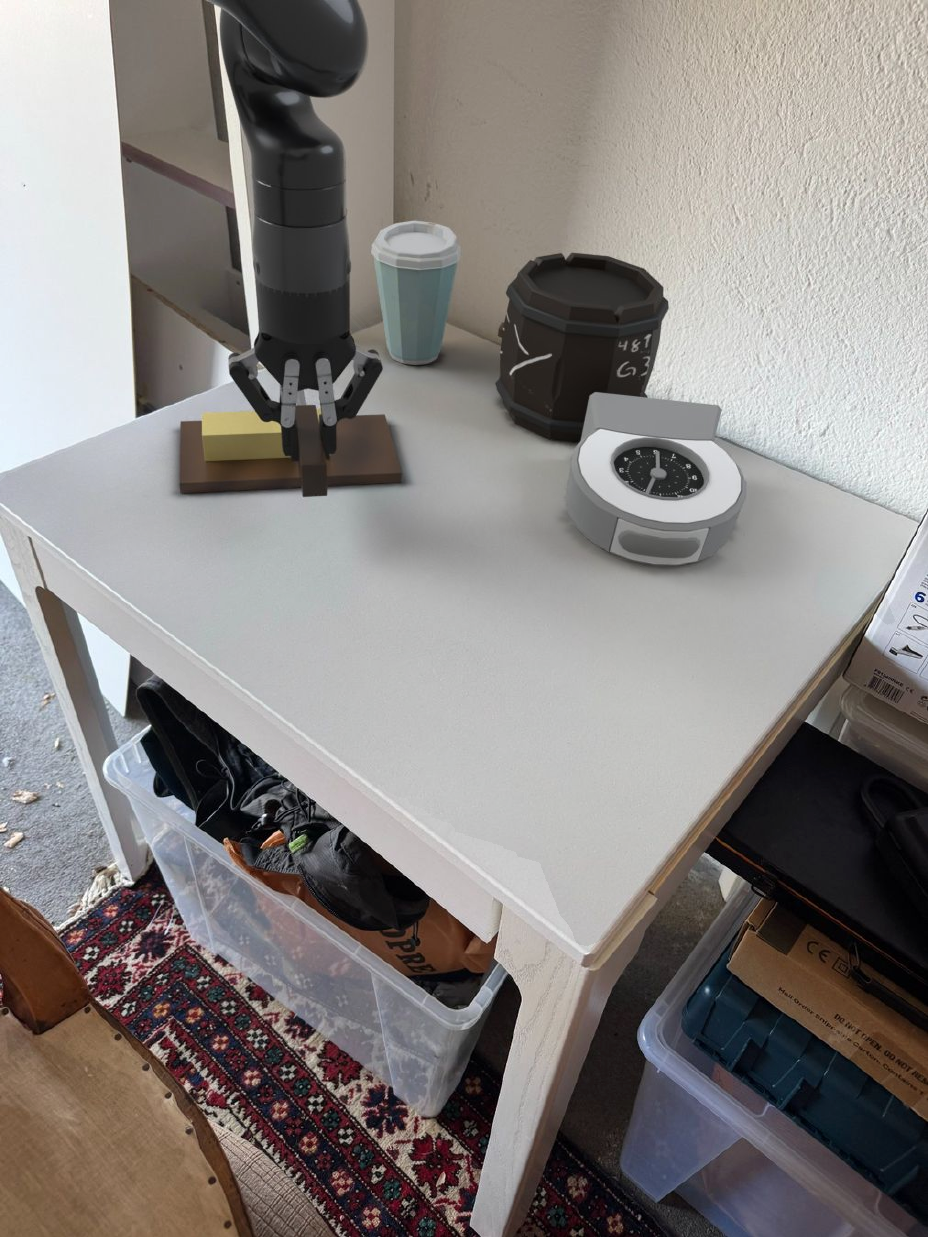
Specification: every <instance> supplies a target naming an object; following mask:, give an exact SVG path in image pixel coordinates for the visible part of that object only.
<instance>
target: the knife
mask: <svg viewBox="0 0 928 1237" xmlns="http://www.w3.org/2000/svg"><path fill="white" fill-rule="evenodd" d="M306 401H307V400H306V395H305V389H304V390H301V391H297V404H296V409H295V415H296V421H297V427H298V469H299V475H300V482H301V487H300V489H301V493H302V494H301V495H302V497H303V498H312V497H327V496H328V486H327V463H326V458H325V452H324V447H323V442H322V439H321V434H320V428H319V420H318V415H317V409H318V408H317V406H316V404H307V402H306Z"/></svg>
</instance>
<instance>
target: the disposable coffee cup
mask: <svg viewBox="0 0 928 1237" xmlns="http://www.w3.org/2000/svg"><path fill="white" fill-rule="evenodd" d="M461 248H462V246H461V245H460V243H458V236H457V235H456V234H455V232H453V230H452V229H451V227H448V226H445V225H442V224H439V223H435V222H431V221H422V220H409V221H408V220H407V221H403V222H396V223H393V224H391V225H389V226H387V227H385V228H382V229H381V230H380V231H379V233H378V234H377V236H376V238H375V240H374V241H373V243H372V244H371V251H370V254H371V255H372V256H373V262H374V270H375V276H376V283H377V289H378V296H379V302H380V309H381V315H382V322H383V329H384V336H385V342H386V349H387V350H388V353H389V355H390V356H391V358H392V359H393V360H394V361H397V362H398V363H401V364H405V365H412V366H413V365H414V366H419V365H420V366H421V365H428V364H431V363H432V362H434V361H436V360H437V359H438V357H439V355H440V352H441V350H442V347H443V341H444V336H445V331H446V326H447V321H448V315H449V310H450V305H451V300H452V295H453V289H454V284H455V279H456V273H457V268H458V265H459V264H458V263H459V261H460V259H461V257H462V251H461V250H462V249H461Z"/></svg>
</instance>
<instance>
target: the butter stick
mask: <svg viewBox="0 0 928 1237" xmlns="http://www.w3.org/2000/svg"><path fill="white" fill-rule="evenodd" d="M201 421H202V439H203V447H204V456H205V461H223V460H247V459H270V458H291V456H285V454H284V453H283V448H282V437H281V425H280V424H279V423H277V422H274V421H270V422H263V421H262V420H261V419H260V417H259V416H258V415H257V413H256V412H255V410H249V411H247V410H245V411H218V412H216V411H215V412H201Z"/></svg>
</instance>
